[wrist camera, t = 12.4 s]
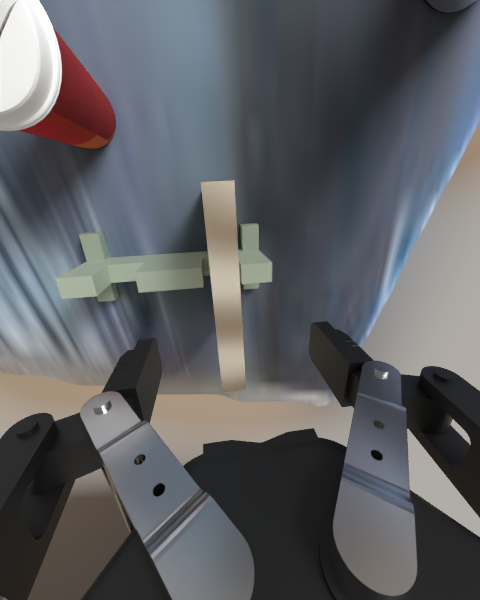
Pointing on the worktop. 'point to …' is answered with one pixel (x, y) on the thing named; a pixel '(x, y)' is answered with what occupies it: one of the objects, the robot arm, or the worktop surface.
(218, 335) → the beige flat panel
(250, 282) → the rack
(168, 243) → the worktop surface
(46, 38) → the paper cup
